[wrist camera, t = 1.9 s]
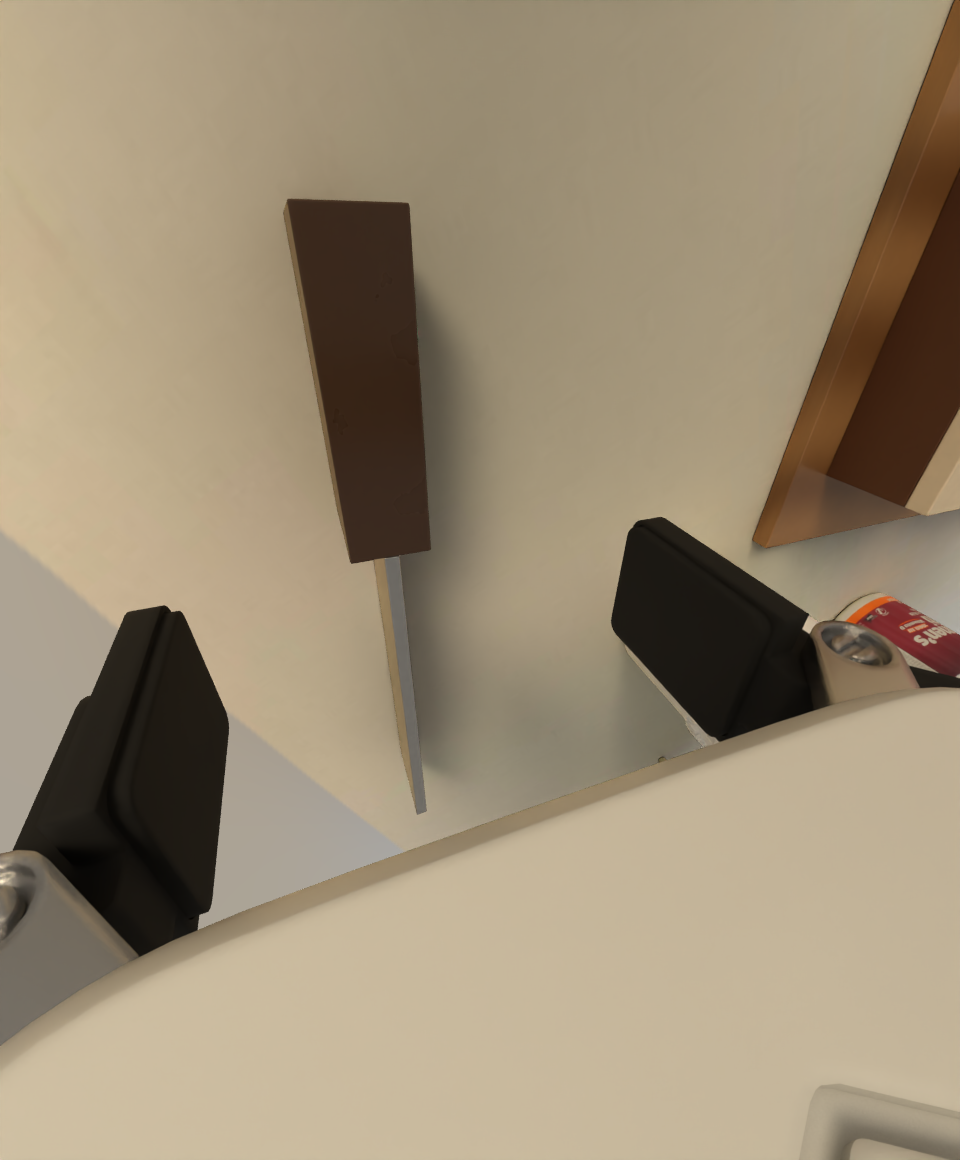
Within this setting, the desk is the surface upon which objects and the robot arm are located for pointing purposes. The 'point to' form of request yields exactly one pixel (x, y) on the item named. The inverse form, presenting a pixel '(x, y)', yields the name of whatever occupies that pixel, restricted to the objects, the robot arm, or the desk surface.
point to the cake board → (870, 316)
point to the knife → (369, 404)
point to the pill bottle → (908, 632)
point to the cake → (914, 389)
